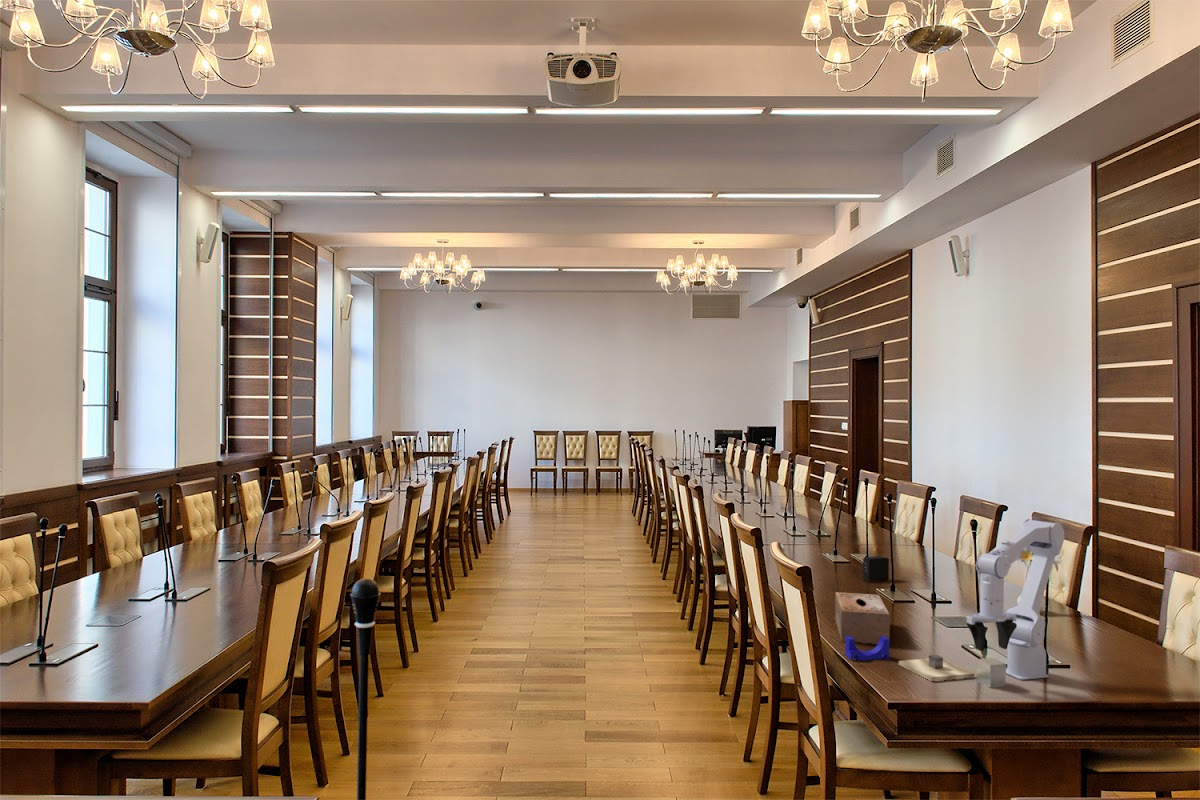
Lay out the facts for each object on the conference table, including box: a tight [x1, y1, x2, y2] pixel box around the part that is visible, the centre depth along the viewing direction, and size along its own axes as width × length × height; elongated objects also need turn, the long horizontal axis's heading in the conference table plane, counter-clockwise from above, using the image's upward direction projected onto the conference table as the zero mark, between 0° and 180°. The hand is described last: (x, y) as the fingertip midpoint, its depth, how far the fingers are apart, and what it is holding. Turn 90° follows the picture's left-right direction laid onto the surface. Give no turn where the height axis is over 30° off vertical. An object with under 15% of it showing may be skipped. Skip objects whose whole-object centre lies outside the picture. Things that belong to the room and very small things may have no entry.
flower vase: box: [1016, 547, 1063, 615], centre depth 287 cm, size 13×18×25 cm
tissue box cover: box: [834, 591, 891, 645], centre depth 259 cm, size 26×14×10 cm, turn 167°
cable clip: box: [844, 636, 890, 662], centre depth 231 cm, size 12×4×6 cm, turn 92°
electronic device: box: [862, 555, 890, 583], centre depth 336 cm, size 4×10×10 cm, turn 107°
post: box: [928, 654, 944, 669], centre depth 221 cm, size 3×3×3 cm
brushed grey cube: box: [976, 657, 1007, 689], centre depth 211 cm, size 5×5×6 cm
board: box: [898, 657, 975, 682], centre depth 221 cm, size 14×14×1 cm
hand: (991, 648), depth 211 cm, fingers open, 7 cm apart
